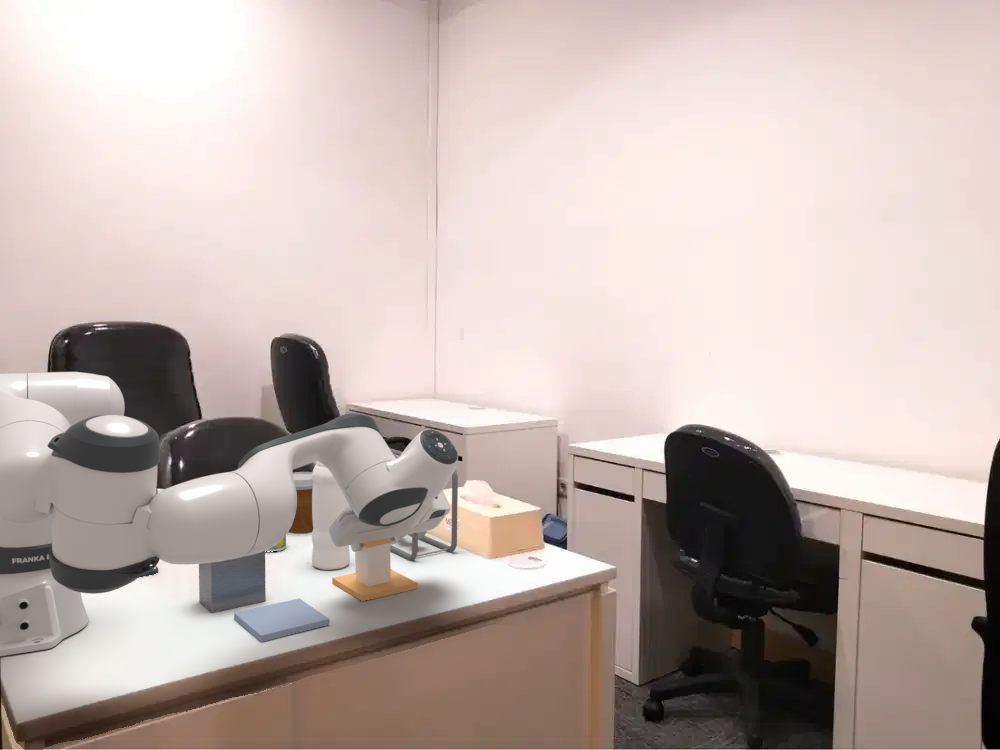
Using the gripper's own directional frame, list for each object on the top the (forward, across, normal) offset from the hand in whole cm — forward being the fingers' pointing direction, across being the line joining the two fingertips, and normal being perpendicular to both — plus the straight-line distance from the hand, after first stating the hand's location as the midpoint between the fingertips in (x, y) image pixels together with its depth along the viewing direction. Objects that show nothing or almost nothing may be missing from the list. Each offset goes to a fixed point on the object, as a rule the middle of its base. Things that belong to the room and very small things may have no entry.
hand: (372, 544), depth 145 cm
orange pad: (+5, 0, -6) cm, 7 cm away
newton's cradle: (+20, +18, +10) cm, 29 cm away
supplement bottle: (+27, -6, +16) cm, 32 cm away
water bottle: (+15, -1, +5) cm, 16 cm away
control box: (+10, -23, -1) cm, 25 cm away
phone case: (+31, -33, +20) cm, 49 cm away
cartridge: (+4, 0, -5) cm, 6 cm away
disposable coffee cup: (+34, +5, +23) cm, 41 cm away
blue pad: (0, -20, -10) cm, 22 cm away
